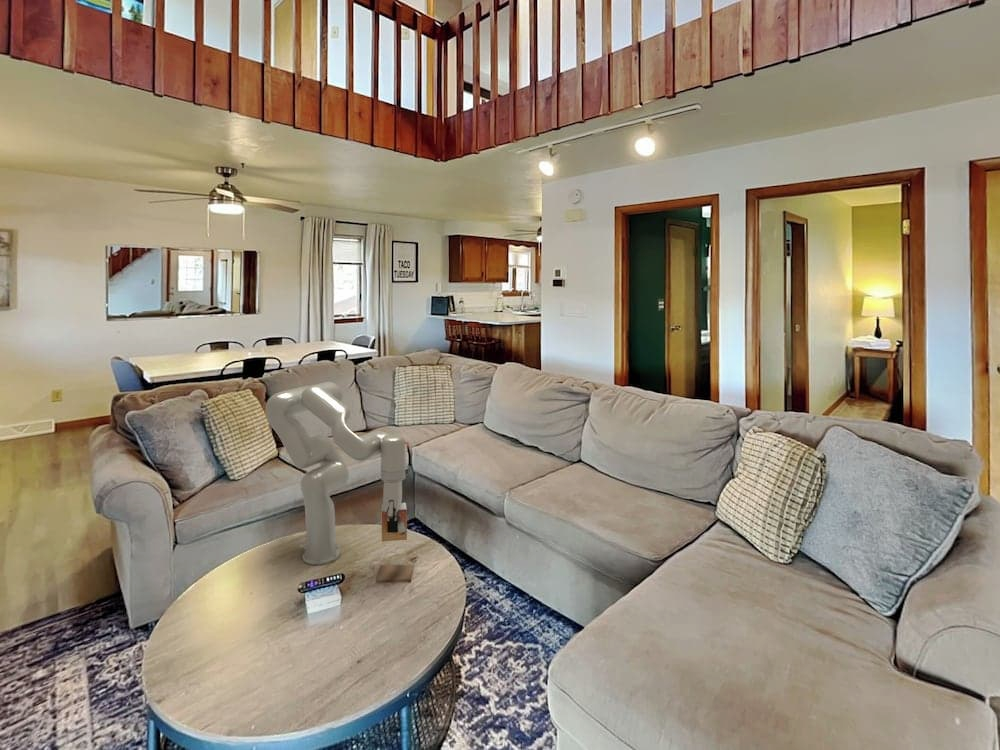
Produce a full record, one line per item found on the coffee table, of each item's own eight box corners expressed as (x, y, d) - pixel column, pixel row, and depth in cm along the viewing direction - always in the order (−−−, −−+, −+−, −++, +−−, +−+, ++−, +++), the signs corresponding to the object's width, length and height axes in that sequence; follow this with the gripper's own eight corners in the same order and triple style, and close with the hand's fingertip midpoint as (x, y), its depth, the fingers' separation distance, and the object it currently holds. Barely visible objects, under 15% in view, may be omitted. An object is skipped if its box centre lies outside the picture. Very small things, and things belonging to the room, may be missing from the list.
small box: (381, 542, 167) (380, 511, 165) (381, 534, 172) (380, 503, 171) (407, 540, 169) (406, 509, 167) (406, 532, 174) (406, 502, 172)
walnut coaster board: (375, 582, 168) (375, 579, 168) (380, 567, 177) (380, 565, 177) (410, 582, 169) (410, 579, 168) (413, 567, 177) (413, 564, 177)
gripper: (385, 464, 175) (386, 515, 178) (376, 484, 158) (378, 540, 161) (408, 464, 176) (408, 515, 179) (401, 483, 159) (402, 539, 162)
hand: (394, 526), depth 170 cm, fingers closed on small box, 6 cm apart
